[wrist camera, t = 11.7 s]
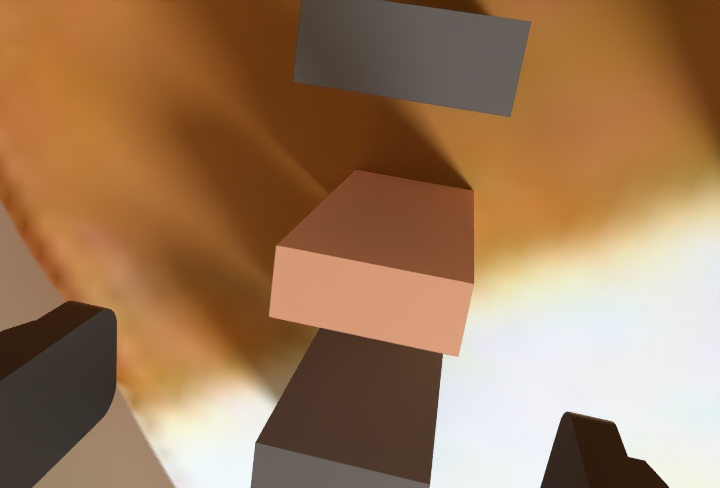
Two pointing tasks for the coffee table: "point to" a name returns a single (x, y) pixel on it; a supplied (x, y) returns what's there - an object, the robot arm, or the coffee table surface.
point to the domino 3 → (353, 418)
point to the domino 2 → (381, 263)
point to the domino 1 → (411, 53)
